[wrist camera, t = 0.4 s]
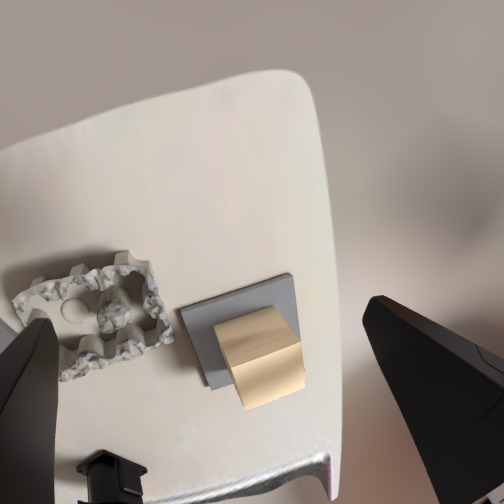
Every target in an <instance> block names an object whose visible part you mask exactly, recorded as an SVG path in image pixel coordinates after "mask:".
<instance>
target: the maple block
mask: <svg viewBox="0 0 504 504" xmlns="http://www.w3.org/2000/svg"><path fill="white" fill-rule="evenodd" d="M213 327H214V330H215V333H216V336H217V339H218V342H219V346H220V349H221V352H222V355H223V358H224V361H225V364H226V367H227V370H228V372H229V374H230V377H231V379H232V381H233V384H234V386H235V388H236V391H237V393H238V395H239V397H240V400H241V402H242V404H243V406H244V409H245V411H247V410H249V409H252V408H255V407H257V406H260V405H263V404H265V403H268V402H271V401H273V400H276V399H278V398H281V397H283V396H286V395H288V394H290V393H293V392H295V391H298V390H300V389H302V388H305V387H306V385H305V375H304V365H303V356H302V346H301V341H300V340H299V338H298V337H297V336H296V334H295V333H294V332H293V331H292V329H291V328H290V327H289V325H288V324H287V323H286V321H285V320H284V319H283V318H282V316H281V315H280V314H279V312H278V311H277V310H276V308H275V307H274V306H270V307H267V308H264V309H261V310H258V311H256V312H253V313H250V314H247V315H244V316H241V317H238V318H235V319H232V320H230V321H227V322H224V323H221V324H218V325H215V326H213Z"/></svg>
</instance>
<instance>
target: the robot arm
mask: <svg viewBox="0 0 504 504" xmlns="http://www.w3.org/2000/svg"><path fill="white" fill-rule="evenodd" d="M362 322H363V326H364V328H365V331H366V334H367V336H368V339H369V341H370V344H371V346H372V349H373V352H374V355H375V357H376V360H377V362H378V365H379V367H380V369H381V371H382V373H383V375H384V377H385V379H386V381H387V383H388V385H389V388H390V390H391V392H392V394H393V396H394V398H395V400H396V402H397V405H398V407H399V409H400V411H401V413H402V416H403V418H404V420H405V422H406V424H407V427H408V429H409V431H410V433H411V435H412V438H413V440H414V442H415V445H416V447H417V449H418V452H419V454H420V456H421V459H422V461H423V463H424V466H425V468H426V471H427V473H428V476H429V478H430V481H431V483H432V486H433V488H434V491H435V493H436V496H437V498H438V501H439V503H440V504H472V503H473V502H475V501H477V500H478V499H480V498H482V497H483V496H485V495H487V497H486V498H484V499H483V500H482V501H481V502H480V503H479V504H504V358H501V357H499V356H497V355H495V354H493V353H491V352H490V351H488V350H486V349H484V348H482V347H480V346H478V345H477V344H474V343H473V342H471V341H469V340H467V339H465V338H463V337H462V336H460V335H458V334H456V333H454V332H452V331H450V330H449V329H447V328H445V327H443V326H441V325H439V324H437V323H436V322H434V321H431V320H430V319H428V318H426V317H424V316H422V315H420V314H419V313H417V312H415V311H413V310H411V309H409V308H407V307H405V306H403V305H401V304H399V303H397V302H396V301H394V300H392V299H390V298H388V297H386V296H384V295H380V296H373V297H372V298H371V299H370V300H369V303H368V305H367V308H366V310H365V312H364V315H363V318H362ZM58 372H59V341H58V338H57V336H56V333H55V330H54V327H53V324H52V322H51V320H50V319H49V318H35V319H33V320H32V321H31V322H30V323H29V324H28V325H27V326H26V327H25V328H24V329H23V330H22V332H21V333H20V334H19V335H18V336H17V337H16V338H15V339H14V340H13V341H12V342H11V343H10V344H9V345H8V346H7V347H6V348H5V349H4V351H3V352H2V353H1V354H0V504H55V497H54V454H55V433H56V419H57V408H58ZM76 471H77V472H79V473H81V474H83V475H85V476H87V487H88V503H87V502H82V501H79V500H78V504H143V500H142V495H143V491H142V485H141V479H140V476H142V475H144V474H146V473H147V468H145V467H142V466H140V465H137V464H135V463H133V462H130V461H128V460H125V459H123V458H121V457H118V456H116V455H114V454H112V453H110V452H107V451H101V452H100V453H98V454H97V455H95V456H94V457H92V458H90V459H89V460H87V461H86V462H84V463H83V464H81V465H79V466H78V467H76Z"/></svg>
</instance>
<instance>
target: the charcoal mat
mask: <svg viewBox="0 0 504 504" xmlns="http://www.w3.org/2000/svg"><path fill="white" fill-rule="evenodd" d="M17 336H18V334H17V333H16V332H15V331H14V330H13V329H11V328H10V327H9V326H8V325H7V324H6V323H5V322H3V321H2V320H1V319H0V354H1V353H2V352H3V351H4V349H5V348H6V347H7V346H8V345H9V344H10V343H11V342H12V341H13V340H14V339H15V338H16V337H17Z"/></svg>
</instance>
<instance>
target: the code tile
mask: <svg viewBox="0 0 504 504" xmlns="http://www.w3.org/2000/svg"><path fill="white" fill-rule="evenodd" d="M270 306H274V307H275V308H276V310H277V311H278V312H279V314H280V315H281V316H282V318H283V319H284V320H285V321H286V323H287V324H288V325H289V327H290V328H291V329H292V331H293V332H294V333H295V334H296V336H297V337H298V338H299V340H300V341H301V339H300V330H299V322H298V313H297V305H296V297H295V288H294V281H293V276H292V275H291V274H290V273H288V274H285V275H282V276H279V277H276V278H273V279H270V280H267V281H264V282H261V283H258V284H255V285H252V286H249V287H246V288H243V289H240V290H237V291H234V292H231V293H228V294H225V295H222V296H219V297H216V298H213V299H210V300H207V301H204V302H201V303H197V304H194V305H191V306H188V307H185V308H182V309H180V311H181V314H182V317H183V320H184V322H185V325H186V328H187V331H188V333H189V336H190V339H191V341H192V344H193V346H194V349H195V351H196V354H197V357H198V359H199V362H200V364H201V367H202V369H203V372H204V374H205V376H206V379H207V381H208V384H209V386H210V389H211V391H212V390H215V389H218V388H221V387H224V386H227V385H230V384H233V381H232V379H231V377H230V374H229V372H228V370H227V367H226V364H225V361H224V358H223V355H222V352H221V349H220V346H219V342H218V339H217V336H216V333H215V330H214V327H213V326H215V325H218V324H221V323H224V322H227V321H230V320H232V319H235V318H238V317H241V316H244V315H247V314H250V313H253V312H256V311H258V310H261V309H264V308H267V307H270Z"/></svg>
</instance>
